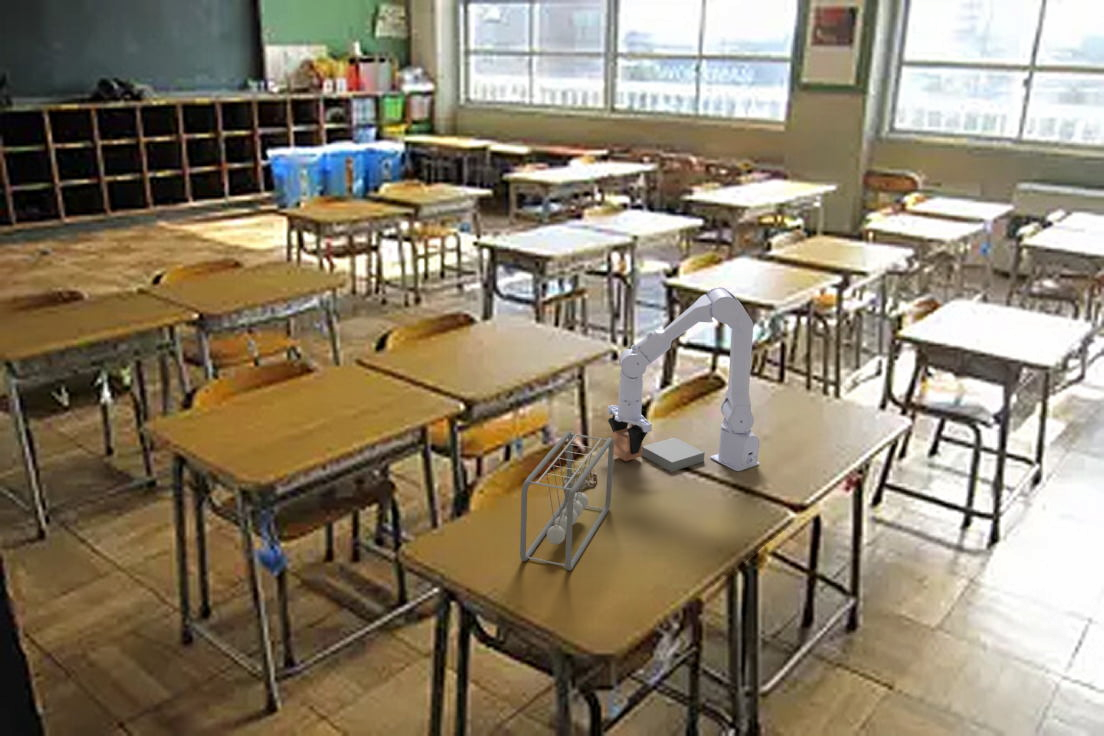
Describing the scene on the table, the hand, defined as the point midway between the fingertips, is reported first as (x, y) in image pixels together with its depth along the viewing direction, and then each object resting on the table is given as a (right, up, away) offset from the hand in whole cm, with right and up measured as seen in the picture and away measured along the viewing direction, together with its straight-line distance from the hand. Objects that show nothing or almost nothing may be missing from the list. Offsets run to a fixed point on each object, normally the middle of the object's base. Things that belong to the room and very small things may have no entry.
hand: (627, 449), depth 231 cm
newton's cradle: (-15, -15, -35) cm, 41 cm away
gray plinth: (+11, -2, +2) cm, 12 cm away
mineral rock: (-12, -7, -12) cm, 19 cm away
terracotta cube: (0, -2, +1) cm, 2 cm away
